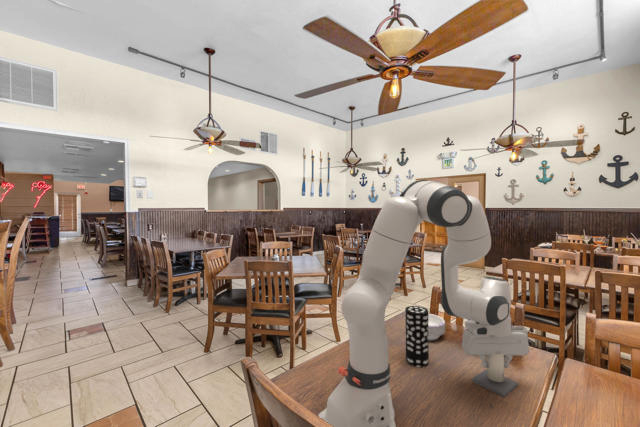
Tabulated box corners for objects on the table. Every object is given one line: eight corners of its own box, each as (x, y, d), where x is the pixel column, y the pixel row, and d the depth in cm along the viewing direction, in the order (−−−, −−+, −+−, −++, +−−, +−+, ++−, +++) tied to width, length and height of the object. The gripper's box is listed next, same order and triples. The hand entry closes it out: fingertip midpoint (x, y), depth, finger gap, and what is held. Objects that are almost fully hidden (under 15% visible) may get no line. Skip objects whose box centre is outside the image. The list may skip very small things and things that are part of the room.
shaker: (496, 383, 94) (496, 353, 94) (483, 375, 99) (482, 346, 99) (507, 380, 96) (507, 350, 96) (494, 372, 100) (493, 343, 100)
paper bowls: (435, 347, 123) (435, 328, 123) (403, 335, 134) (403, 318, 134) (451, 335, 133) (451, 318, 133) (420, 326, 144) (420, 310, 144)
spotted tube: (430, 368, 107) (430, 314, 107) (406, 366, 109) (406, 313, 108) (426, 356, 115) (426, 306, 115) (404, 354, 117) (404, 305, 116)
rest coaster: (504, 397, 91) (504, 394, 91) (471, 381, 99) (471, 378, 99) (518, 385, 96) (518, 382, 96) (486, 371, 105) (486, 368, 105)
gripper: (521, 321, 100) (521, 361, 100) (460, 321, 100) (460, 361, 101) (534, 329, 93) (533, 372, 94) (468, 329, 94) (468, 372, 95)
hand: (495, 366), depth 97 cm, fingers closed on shaker, 5 cm apart
